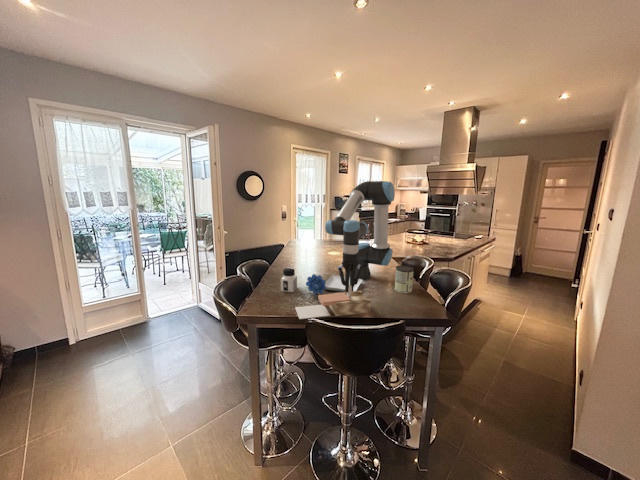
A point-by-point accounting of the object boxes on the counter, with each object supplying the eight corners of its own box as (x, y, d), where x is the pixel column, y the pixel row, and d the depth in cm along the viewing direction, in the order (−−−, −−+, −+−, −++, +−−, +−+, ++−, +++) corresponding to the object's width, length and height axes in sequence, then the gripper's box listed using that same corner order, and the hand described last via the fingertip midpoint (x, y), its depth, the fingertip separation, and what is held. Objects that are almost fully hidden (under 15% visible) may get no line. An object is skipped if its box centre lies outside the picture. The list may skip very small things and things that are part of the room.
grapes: (306, 297, 146) (306, 277, 143) (305, 292, 152) (305, 273, 150) (327, 296, 148) (327, 276, 145) (325, 291, 154) (325, 272, 152)
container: (293, 292, 152) (293, 271, 150) (280, 291, 154) (280, 270, 151) (297, 287, 160) (297, 267, 157) (285, 286, 161) (284, 266, 159)
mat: (323, 305, 137) (323, 304, 137) (330, 315, 125) (330, 315, 125) (295, 308, 133) (295, 307, 133) (299, 319, 122) (299, 318, 122)
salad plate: (355, 296, 149) (356, 290, 148) (320, 291, 156) (320, 285, 156) (363, 283, 169) (363, 278, 168) (331, 279, 176) (331, 274, 175)
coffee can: (395, 285, 165) (397, 264, 162) (412, 288, 161) (414, 266, 158) (392, 291, 156) (394, 268, 153) (411, 294, 152) (413, 271, 149)
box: (360, 302, 141) (361, 290, 140) (370, 312, 130) (371, 299, 128) (328, 305, 136) (328, 293, 135) (335, 316, 125) (336, 303, 124)
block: (344, 296, 136) (344, 292, 136) (350, 303, 128) (350, 299, 127) (318, 298, 132) (318, 295, 132) (322, 306, 124) (322, 302, 124)
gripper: (359, 249, 132) (357, 293, 137) (335, 251, 129) (334, 296, 134) (366, 253, 125) (363, 299, 130) (340, 255, 122) (339, 302, 126)
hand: (348, 297), depth 132 cm, fingers closed
